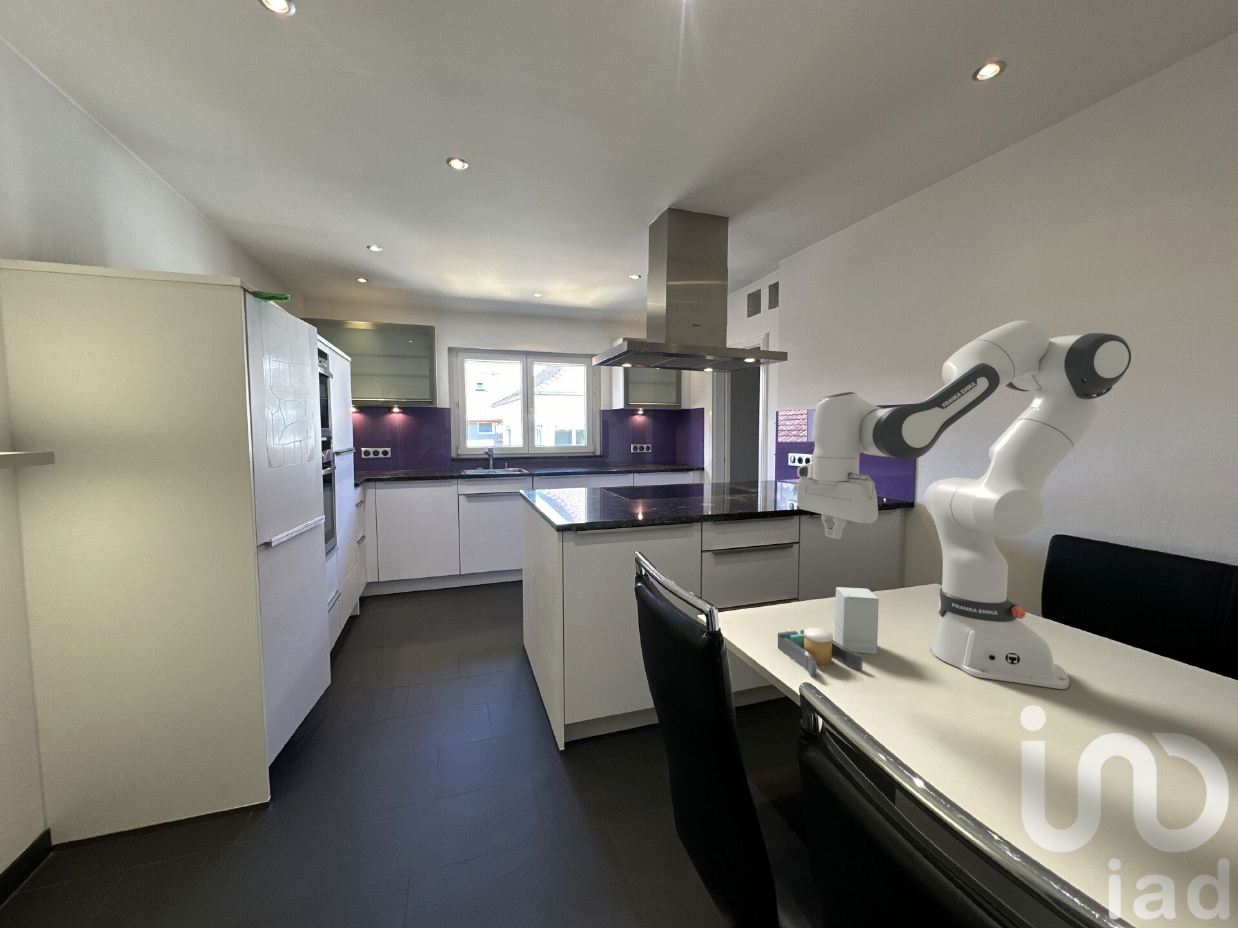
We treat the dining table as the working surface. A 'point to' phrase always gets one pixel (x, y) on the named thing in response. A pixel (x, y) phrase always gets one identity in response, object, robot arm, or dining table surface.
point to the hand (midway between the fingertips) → (833, 537)
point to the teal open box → (797, 639)
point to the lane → (808, 660)
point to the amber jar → (819, 645)
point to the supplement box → (856, 619)
